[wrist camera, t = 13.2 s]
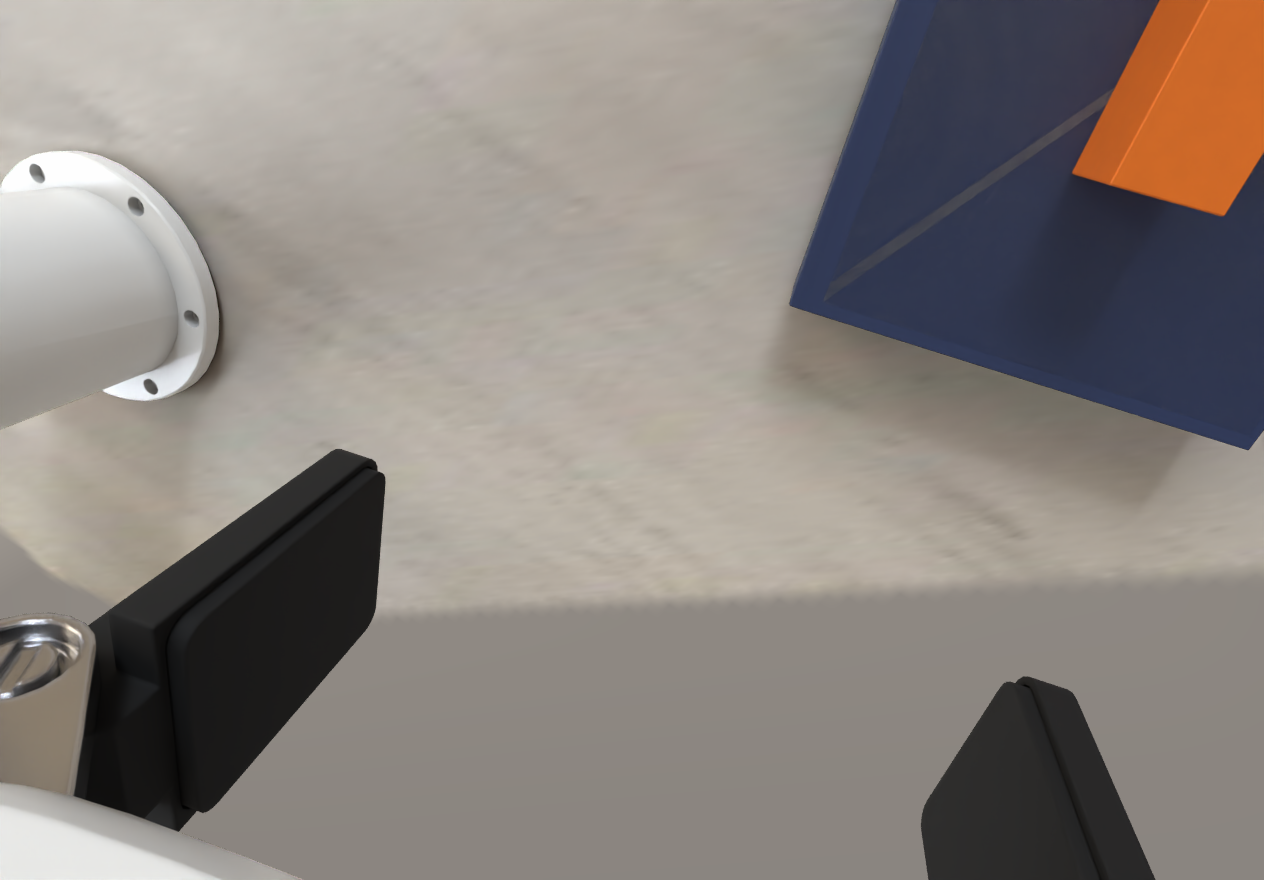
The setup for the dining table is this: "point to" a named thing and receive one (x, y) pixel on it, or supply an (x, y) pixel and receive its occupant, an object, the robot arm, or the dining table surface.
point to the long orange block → (1186, 107)
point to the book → (1036, 222)
